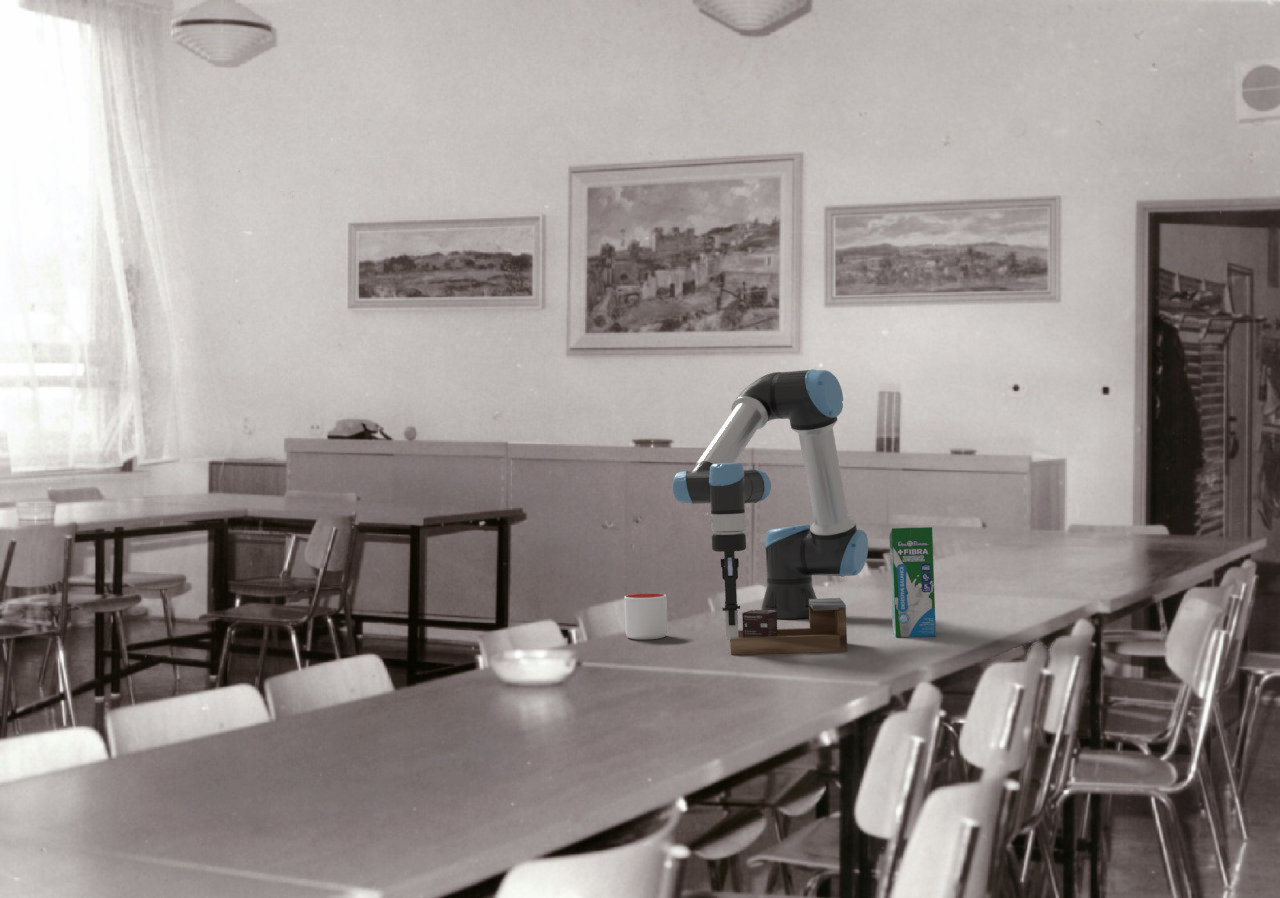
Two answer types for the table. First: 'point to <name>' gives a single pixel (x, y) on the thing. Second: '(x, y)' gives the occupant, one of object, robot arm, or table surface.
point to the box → (759, 623)
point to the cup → (646, 616)
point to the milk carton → (912, 582)
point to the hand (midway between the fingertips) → (732, 639)
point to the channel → (802, 633)
